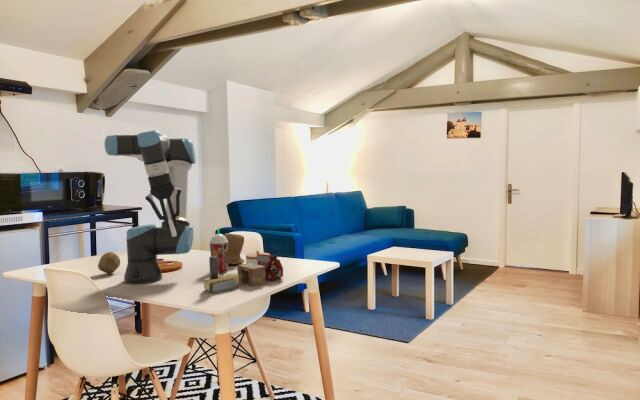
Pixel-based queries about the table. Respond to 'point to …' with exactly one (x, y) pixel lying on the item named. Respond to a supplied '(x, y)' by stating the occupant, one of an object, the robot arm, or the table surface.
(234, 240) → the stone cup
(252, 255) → the lidded jar
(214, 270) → the brass block with handle
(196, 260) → the table surface
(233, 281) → the channel
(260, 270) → the socket
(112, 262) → the natural sponge
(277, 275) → the toy fire truck
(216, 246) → the smoothie
